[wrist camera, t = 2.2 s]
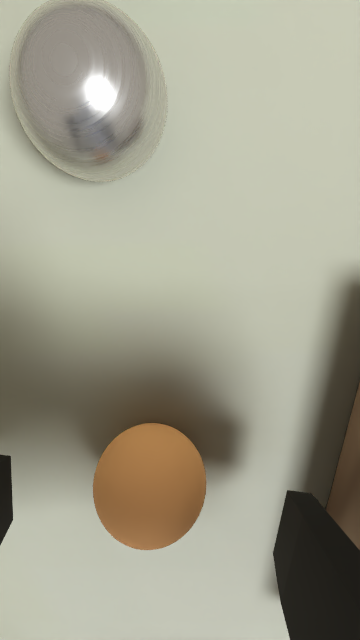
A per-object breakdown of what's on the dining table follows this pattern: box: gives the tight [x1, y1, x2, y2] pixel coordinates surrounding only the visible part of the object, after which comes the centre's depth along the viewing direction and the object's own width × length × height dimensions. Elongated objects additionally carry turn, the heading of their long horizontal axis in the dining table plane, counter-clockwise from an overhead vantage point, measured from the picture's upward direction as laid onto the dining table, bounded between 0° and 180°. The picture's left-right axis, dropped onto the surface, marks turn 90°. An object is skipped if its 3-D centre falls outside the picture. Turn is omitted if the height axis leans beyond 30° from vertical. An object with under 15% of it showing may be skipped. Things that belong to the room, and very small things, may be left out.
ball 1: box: [9, 0, 167, 182], centre depth 7 cm, size 3×3×3 cm
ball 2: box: [93, 423, 206, 550], centre depth 9 cm, size 3×3×3 cm
